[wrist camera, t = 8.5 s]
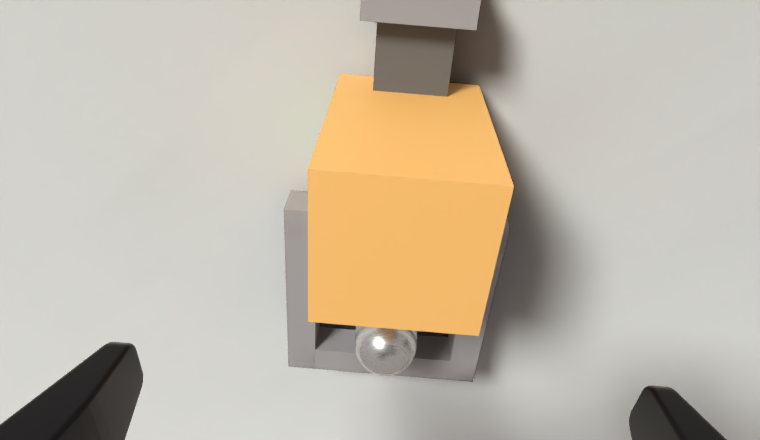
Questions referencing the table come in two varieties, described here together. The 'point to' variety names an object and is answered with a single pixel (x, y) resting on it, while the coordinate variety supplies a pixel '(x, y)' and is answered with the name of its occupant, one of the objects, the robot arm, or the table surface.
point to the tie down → (400, 203)
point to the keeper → (384, 347)
